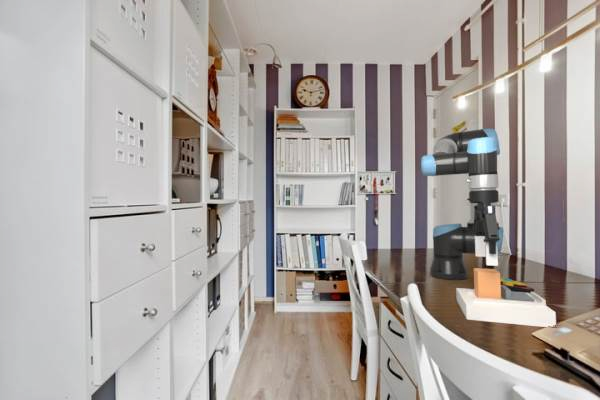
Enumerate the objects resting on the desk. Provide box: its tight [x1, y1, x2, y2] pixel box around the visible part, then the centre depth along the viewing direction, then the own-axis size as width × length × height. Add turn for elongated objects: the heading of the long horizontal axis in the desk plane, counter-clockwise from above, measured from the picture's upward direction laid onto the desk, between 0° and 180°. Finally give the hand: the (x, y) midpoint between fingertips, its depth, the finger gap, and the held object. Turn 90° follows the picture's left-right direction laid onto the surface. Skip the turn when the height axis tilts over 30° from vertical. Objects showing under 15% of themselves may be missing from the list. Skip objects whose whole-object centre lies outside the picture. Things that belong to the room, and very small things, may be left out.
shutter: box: [501, 285, 534, 302], centre depth 85 cm, size 6×6×3 cm
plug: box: [473, 267, 501, 299], centre depth 88 cm, size 6×6×12 cm
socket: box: [455, 287, 557, 328], centre depth 87 cm, size 18×20×6 cm
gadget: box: [500, 277, 535, 294], centre depth 103 cm, size 6×13×6 cm, turn 70°
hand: (485, 260), depth 88 cm, fingers open, 13 cm apart
